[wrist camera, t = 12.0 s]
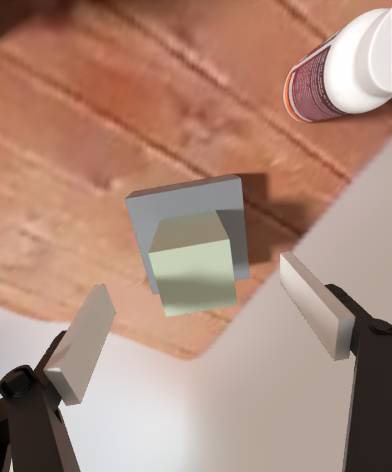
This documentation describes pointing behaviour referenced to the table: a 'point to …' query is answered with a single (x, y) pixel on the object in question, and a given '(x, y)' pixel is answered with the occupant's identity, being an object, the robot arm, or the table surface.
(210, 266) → the sage block
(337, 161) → the table surface
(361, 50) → the pill bottle
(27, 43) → the table surface
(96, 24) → the table surface
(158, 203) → the slate block
